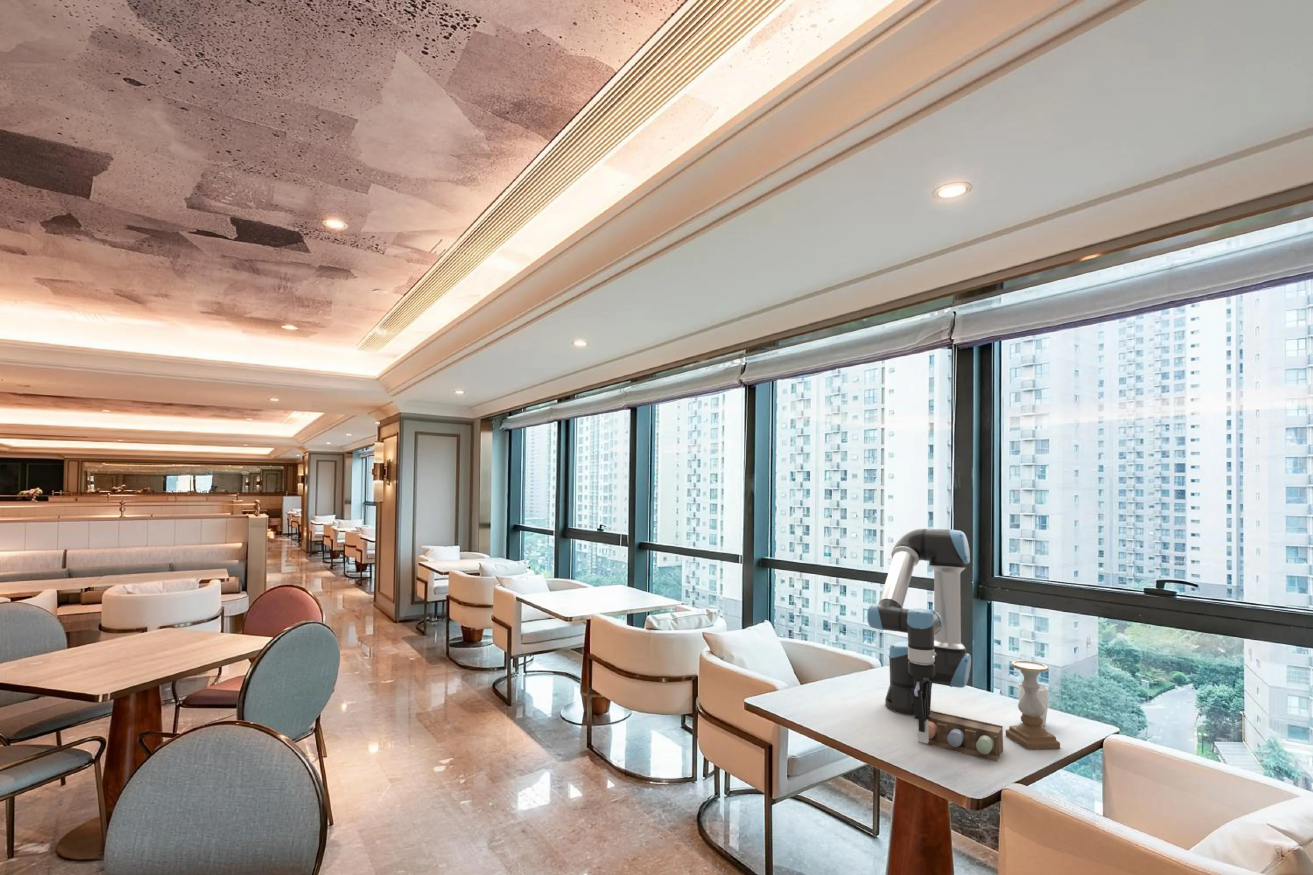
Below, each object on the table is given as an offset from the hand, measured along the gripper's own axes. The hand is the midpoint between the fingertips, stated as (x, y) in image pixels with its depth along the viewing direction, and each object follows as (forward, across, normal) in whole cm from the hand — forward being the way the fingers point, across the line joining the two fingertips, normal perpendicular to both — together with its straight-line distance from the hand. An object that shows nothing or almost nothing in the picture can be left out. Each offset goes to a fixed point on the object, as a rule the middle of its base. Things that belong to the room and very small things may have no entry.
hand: (923, 741), depth 190 cm
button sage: (+1, +8, -15) cm, 17 cm away
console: (+4, +13, -7) cm, 15 cm away
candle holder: (+4, +31, -24) cm, 39 cm away
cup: (+4, +50, -22) cm, 55 cm away
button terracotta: (+1, +9, +1) cm, 9 cm away
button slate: (+1, +7, -7) cm, 11 cm away
